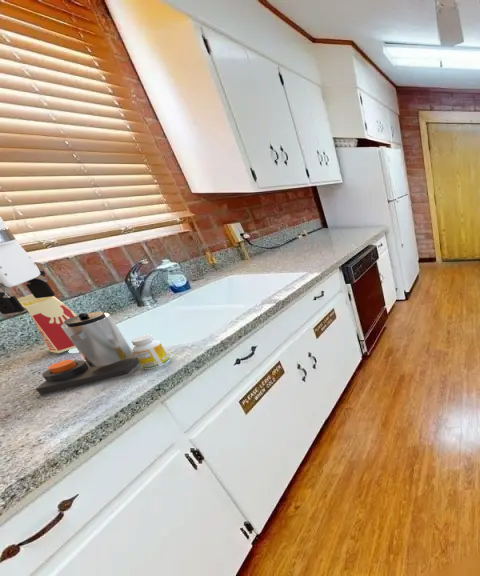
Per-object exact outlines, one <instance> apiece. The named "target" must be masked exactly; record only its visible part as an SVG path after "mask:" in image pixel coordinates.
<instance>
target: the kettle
mask: <svg viewBox="0 0 480 576" xmlns="http://www.w3.org/2000/svg"><path fill="white" fill-rule="evenodd" d="M61 327H62V329H63V330H64V331H65V333H66V334H67V336H68V337H69V338H70V340H71V341H72V342H73V344H74V345H75V347H76V348H75V349H77V351H78V352H79V354H80V355H81V356H82V358H83V360H84V361H86V362H87V363H88V364H89V366H91V367H100V366H105V365H109V364H112V363H115V362H118V361H121V360H123V359H125V358H127V357H128V356H130V355H131V354H132V353H133V348H131V346H130V345H129V342H128V341H127V340H126V338H125V337H124V335H123V334H122V332H121V331H120V329H119V327H118V326H117V324H116V322H115V321H114V319H113V318H112V316H111V314H110V313H108V312H104V311H92V312H80V313H79V314H77V316H75V317H72V318H70V319H67V320H66V321H64V324H62V325H61Z"/></svg>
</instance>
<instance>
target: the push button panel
mask: <svg viewBox="0 0 480 576" xmlns="http://www.w3.org/2000/svg"><path fill="white" fill-rule="evenodd" d="M73 361H74V362H75V363H76V365H77V366H75V367H73V368H71V369H69V370H66V371H63V372H60V373H52V372H51V371H50V369H49V368H48V369H47V370H46V371H43V373H41V376H42V377H43V379H44V380H45V381H44V382H42V383H41V384H40V385H38V386H37V387H36V388H35V390H36V392H37V393H38V394H39V395H40V396H44V395H49V394H52V393H57V392H61V391H65V390H69V389H73V388H78V387H81V386H86V385H90V384H94V383H98V382H102V381H103V382H104V381H106V380H110V379H114V378H118V377H124V376H127V375H129V374H130V373H131V372H132V371H133V370H134V369H135V368H136V367H137V366H138V365H139V364H141V363H140V361H139V360H138V358H137V357H136V355H135V353H134V352H133V353H132V354H131V355H130V356H128V357H127V358H125V359H123V360H121V361H118V362H115V363H112V364H109V365H105V366H100V367H91V366H89V364H88V363H87V362H86V360H85V359H76V360H73Z"/></svg>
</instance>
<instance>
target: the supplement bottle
mask: <svg viewBox="0 0 480 576" xmlns="http://www.w3.org/2000/svg"><path fill="white" fill-rule="evenodd" d="M131 343H132V345H133V348H132V351H133V352H134V353H135V355H136V357H137V358H138V360H139V361H140V363H139V364H140V365H141V366H142V368H143V369H144V370H152V369H156V368H158V367H162V366H164V365H166V364H167V363H169V362H170V361H171V358H170V357H169V355H168V353H167V351H166V350H165V348H164V347H163V345H162V343H161V341H159V340H158V339H155V337H154V336H153V335H152V334H143V335H139V336H137V337H135V338H133V339H131Z"/></svg>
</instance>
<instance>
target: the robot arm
mask: <svg viewBox="0 0 480 576" xmlns="http://www.w3.org/2000/svg"><path fill="white" fill-rule="evenodd" d="M24 283H26V284H25V286H26V288H27V289H28V290H29V292H30V293H31V294H33V296H34V297H35V298H44V297H52V296H54V297H56V293H55V292H54V290H53V288H52V287H51V286H50V284H49V282H48V278H47V277H46V272H45V270H44V267H43V264H42V262H36V261H34V260H33V258H32V257H31V256H30V254H29V253H28V252H27V251H26V250H25V249H24V248H23V246H21V244H20V243H19V242H18V240H17V239H16V237H15V235H14V234H13V233H12V231H11V230H10V228H9V227H8V225H7V224H6V222H5V221H4V219H3V218H2V217H1V216H0V290H1V291H0V314H1V315H9V314H16V313H22V312H24V311H26V308H25V307H23V306H22V305H21V303H20V302H19V301H18V299H19V298H17V297H16V295H12V288H14V287H17V286H19V285H22V284H24Z"/></svg>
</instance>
